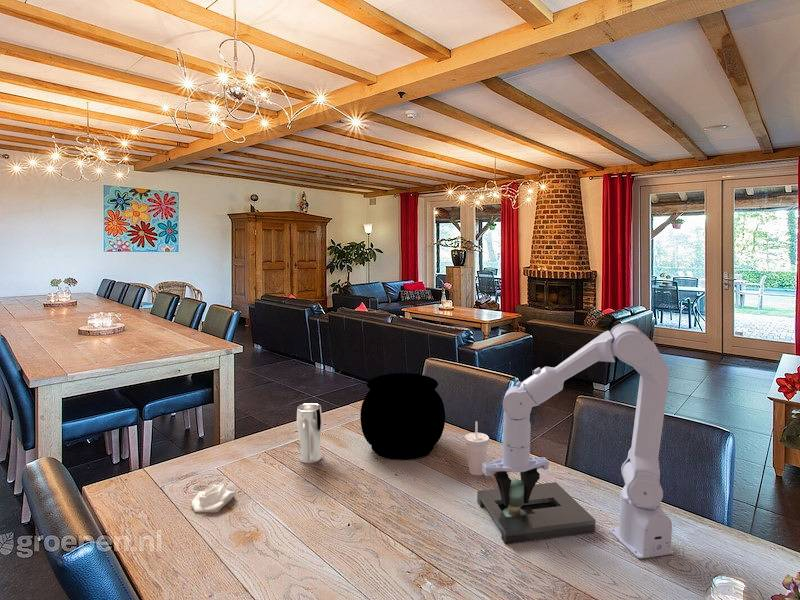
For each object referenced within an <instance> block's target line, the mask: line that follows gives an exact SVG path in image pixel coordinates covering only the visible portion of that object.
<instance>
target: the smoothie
mask: <svg viewBox="0 0 800 600" xmlns="http://www.w3.org/2000/svg"><path fill="white" fill-rule="evenodd" d="M478 425H479V423H478V421H475V425H474V426H475V427H474V428H475V430H474V432H469V433H467V434H465V435H464V442H465V444H466V446H465V447H466V454H467V462H468V463H467V464H468V471H469V474H471V475H473V476H482V475H484V473H483V472H482V470H483V463H486V459H487V457H486V456H487V450H488V444H489V443H490V437H489V436H488V435H487V434H486V433H482V432H478Z"/></svg>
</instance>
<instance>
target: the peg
mask: <svg viewBox="0 0 800 600" xmlns="http://www.w3.org/2000/svg"><path fill="white" fill-rule="evenodd" d="M510 479H511V484H510V489H509V504H508V507H507V506H506V507H505V508H503V509H502V512H503V513H504V515H505V516H506V517H511V516H519V515H527V513H526V511H525V510H524V509H522V508H521V507H523V506H525V505H524V482H523V481H521V479H519V478H510Z"/></svg>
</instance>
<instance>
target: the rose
mask: <svg viewBox="0 0 800 600" xmlns="http://www.w3.org/2000/svg"><path fill="white" fill-rule="evenodd" d="M235 495H236V491H231V490H228V489H227V488H226V485H225V484H224V483H221V484H213V483H212V484H209V485H208V486H207V487H206V488H205V489H204V490H202V491H201V490H200V491H199V492H198V493H197V494H196V495H195V497H193V499H192V501H191V508H192V510H193V511H194V512H195V513H197V514H198V513H199V514H200V513H211V514H212V513H214V514H215V513H218V512H220V511H221V509H222V508H223V507H224V506H226V505H227V504H228V503H229V502H230V501H231V500H232V499H233V498H234V497H235Z"/></svg>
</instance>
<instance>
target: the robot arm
mask: <svg viewBox="0 0 800 600" xmlns="http://www.w3.org/2000/svg"><path fill="white" fill-rule="evenodd" d="M614 357H616V358H617V359H618V360H620V361H621V362H622V363H625V364H627V365H629V366H631V367H633V369H634V370H635V371H636V372H637V373H638V374H639V381H638V382H639V383H638V390H637V397H636V405H635V407H636V408H635V414H634V415H635V416H634V421H633V422H634V425H633V429H632V430H633V431H632V439H631V447H630V448H629V450H628V452H627V453H628V454H627V458H626V460H625V461H624V462H623V463H622V465H621V467H620V473H621V477H622V479H623V481H624V486H623V488H622V489H621V490H620V495H619V515H618V526H613V527H609V528H608V531H609V532H610V533H611V534H612V536H614V537H615V538H616V539H617V540H618V541H619V542H620V543H621V544H622V545H624V547H626V548H627V550H629V551H630V553H632V554H633V555H634V556H635V557H636V558H637V559H647V558H654V557H660V556H666V555H667V556H668V555H673V554H674V553H675V551H674V549H673V548H672V547H671V546H672V531H673V524H672V520H671V519H670V517H669V516H668V515H667V514H666V512H664V510H663V507H662V505H661V502H662V501H663V498H664V490H663V488H662V486H661V482H660V479H661V472H660V463H659V462H660V461H659V454H660V448H661V440H662V434H663V433H662V431H663V425H664V419H665V418H664V417H665V410H666V403H667V394H668V387H669V382H670V381H669V380H670V375H671V374H670V368H669V366H668V365H667V363H666V362H665V360H664V358H663V356H662V354H661V353H660V351H659V349H658V347H657V345H656V344H655V343H654V341H652V340H651V339H650V338H649V337H648V336H647V335H646V333H644V332H643V331H642V330H641V329H640V328H639V327H637V326H635V325H634V324H632V323H627V322H626V323H625V322H624V323H619V324H616V325H615V326H613V327H612V328H611V330H606V331H604V332H602V333H600V334H599V335H598V336H597V337H595V338H593V339H592V340H590V342H588V343H587V344H585V345H583V346H582V347H581V348H579V349H578V350H577V351H575V352H574V353H572V354H571V355H570V356H569V357H567V358H566V359H565V360H563V361H562V362H560V363H559V364H558V365H557V366H554V367H553V366H552V367H551V366H544V367H542V368H541V367H537V368H535V369H534V370H533V374H532V375H530V376H529V377H527V378H526V379H523V381H520V380H519V381H518V382H515V385H514V386H511V387H509V388H508V389H507V390H506V391H505V394H504V396H503V400H502V409H503V411H504V412H503V424H502V457H501V458H498V459H495V460H492V461H489V462H485V463H483V470H482V472H483V475H485V477H489V476H491V475H492V474H493V476H494V479H495V481H496V484H497V487H498V489H499V490H500V494H501V500H502V502H503V504H502V505H504V506H505V507H507V506H508V504H509V489H510V484H511V479H512V478H510V477H509V474H508V473H510V472H511V473H519V474H520V480H521V481H523V482H524V503H525V504H526V503H528V501H529V498H530V495H531V492H532V489H533V487H534V486H535V484H537V483H538V481H539V480H540V478H541V477H540V476H541V474H540V473H539V472H538V469H539V470H544V471H545V470H549V468H550V467H549V466H550V465H549V464H550V461H549V460H548V459H547V458H546V457H544V456H543V457H536V456H530V455H531V425H532V423H531V422H530V416H531V415H530V414H531V412H532V409H533V407H537V406H540V405H542V403H544V402H546V401H548V400H549V399H550V398H552V397H553V396H555V395H557V394H558V393H559V392H561V391H562V390H563V388H564V383H565V381H566V380H568V379H570V378H572V377H573V376H575V375H577V374H578V373H580V372H582V371H584V370H585V369H588V368H589V367H591V366H592V365H594V364H596V363H597V362H605V363H616V361H615V359H614Z"/></svg>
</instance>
